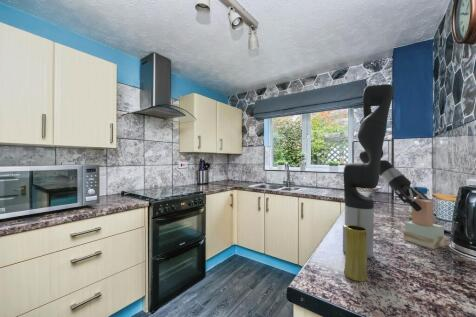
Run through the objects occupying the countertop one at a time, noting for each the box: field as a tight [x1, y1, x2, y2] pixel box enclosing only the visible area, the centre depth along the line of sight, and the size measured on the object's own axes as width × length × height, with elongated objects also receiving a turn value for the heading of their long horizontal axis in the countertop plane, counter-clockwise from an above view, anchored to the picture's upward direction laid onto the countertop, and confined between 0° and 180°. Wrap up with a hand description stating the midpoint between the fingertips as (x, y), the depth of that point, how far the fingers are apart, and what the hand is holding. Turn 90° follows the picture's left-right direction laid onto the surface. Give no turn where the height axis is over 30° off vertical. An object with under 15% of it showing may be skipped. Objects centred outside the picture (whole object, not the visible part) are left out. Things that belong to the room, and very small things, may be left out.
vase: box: [343, 225, 369, 282], centre depth 60 cm, size 6×6×14 cm
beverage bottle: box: [408, 186, 430, 222], centre depth 110 cm, size 8×8×20 cm
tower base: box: [403, 230, 447, 250], centre depth 86 cm, size 10×10×4 cm
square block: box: [412, 199, 434, 226], centre depth 86 cm, size 5×5×10 cm
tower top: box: [404, 220, 445, 239], centre depth 86 cm, size 9×9×4 cm
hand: (425, 209), depth 85 cm, fingers open, 8 cm apart
